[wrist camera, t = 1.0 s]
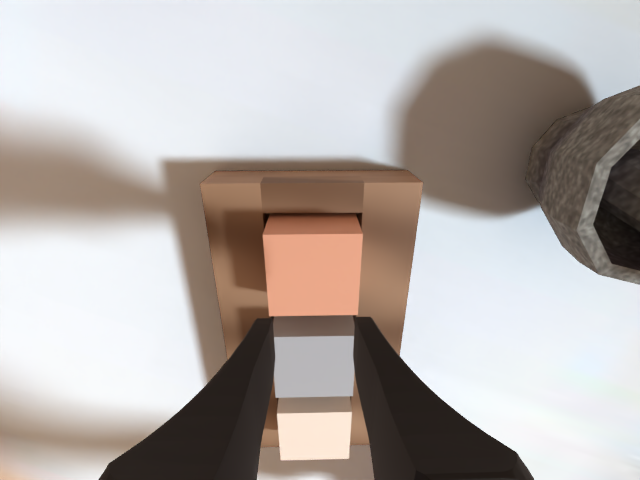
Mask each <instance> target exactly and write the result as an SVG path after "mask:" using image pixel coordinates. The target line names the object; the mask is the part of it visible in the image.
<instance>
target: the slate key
mask: <svg viewBox="0 0 640 480" xmlns="http://www.w3.org/2000/svg"><path fill="white" fill-rule="evenodd" d="M354 329H355V324H354V319H353V315H321V316H274V321H273V331H274V345H275V368H274V383H275V396H276V398H289V397H338V396H353V386H354V361H353V347H354Z"/></svg>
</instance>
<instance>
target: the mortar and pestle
mask: <svg viewBox="0 0 640 480" xmlns="http://www.w3.org/2000/svg"><path fill="white" fill-rule="evenodd" d="M525 179H526V181H527V183H528V185H529V187H530V188H531V190H532V192H533V194H534V196H535V198H536V199H537V201H538V202H540V205H541V208H542V210H543V212H544V214H545V216H546V217H547V219H548V221H549V223H550V225H551V227H552V228H553V230H554V232H555V234H556V236H557V238H558V239H559V241H560V243H561V245H562V246H563V247H564V248H565V249H566V250H567V251H568V252H569V253H570V254H571V255H572V256H573V257H574V258H575V259H576V260H578V261H579V262H580V263H582V264H583V265H585V266H586V267H588V268H589V269H591V270H593V271H594V272H596V273H597V274H599V275H602V276H606V277H611V278H615V279H619V280H623V281H627V282H631V283H635V284H640V86H637V87H635V88H632V89H629V90H627V91H624V92H621V93H619V94H616V95H614V96H611V97H608V98H606V99H603V100H602V101H600V102H599V103H597V104H595V105H594V106H592V107H589V108H587V109H584V110H581V111H579V112H576V113H573V114H571V115H568V116H566V117H563V118H560V119H558V120H556V121H555V122H554V123H553V125H552V126H551V127H550V128H549V129H548V130H547V131H546V133H545V134H544V135H543V136H542V137H541V138H540V139H539V141H538V142H537V143H536V144H535V145H534V146H533V147H532V150H531V155H530V159H529V164H528V169H527V173H526V178H525Z"/></svg>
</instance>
